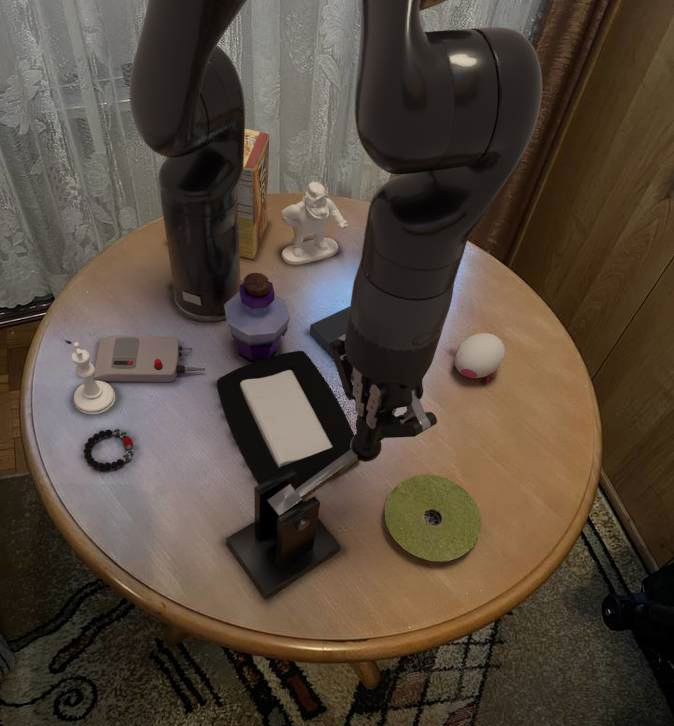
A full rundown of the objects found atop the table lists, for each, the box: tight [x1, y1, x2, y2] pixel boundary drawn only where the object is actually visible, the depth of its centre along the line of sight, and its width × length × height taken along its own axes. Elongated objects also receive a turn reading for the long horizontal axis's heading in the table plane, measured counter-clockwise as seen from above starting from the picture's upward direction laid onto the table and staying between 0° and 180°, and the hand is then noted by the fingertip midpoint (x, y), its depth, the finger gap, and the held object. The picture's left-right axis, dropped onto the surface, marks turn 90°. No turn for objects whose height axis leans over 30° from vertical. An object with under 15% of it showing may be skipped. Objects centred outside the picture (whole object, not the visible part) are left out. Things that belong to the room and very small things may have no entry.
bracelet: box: [83, 428, 135, 471], centre depth 77 cm, size 6×6×1 cm
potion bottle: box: [224, 272, 291, 363], centre depth 84 cm, size 9×9×12 cm
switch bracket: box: [225, 467, 342, 600], centre depth 68 cm, size 10×8×12 cm
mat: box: [384, 473, 482, 562], centre depth 76 cm, size 11×11×2 cm
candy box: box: [237, 128, 270, 260], centre depth 95 cm, size 9×4×15 cm, turn 171°
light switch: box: [216, 350, 361, 489], centre depth 81 cm, size 20×3×14 cm
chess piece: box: [71, 341, 116, 415], centre depth 77 cm, size 5×5×10 cm
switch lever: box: [267, 433, 382, 517], centre depth 66 cm, size 13×3×3 cm, turn 127°
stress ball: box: [452, 331, 506, 383], centre depth 89 cm, size 8×8×7 cm
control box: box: [309, 305, 354, 381], centre depth 89 cm, size 12×9×4 cm
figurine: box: [280, 181, 349, 266], centre depth 96 cm, size 9×7×12 cm
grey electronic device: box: [93, 334, 206, 383], centre depth 84 cm, size 7×16×3 cm, turn 94°
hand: (368, 437), depth 65 cm, fingers closed
